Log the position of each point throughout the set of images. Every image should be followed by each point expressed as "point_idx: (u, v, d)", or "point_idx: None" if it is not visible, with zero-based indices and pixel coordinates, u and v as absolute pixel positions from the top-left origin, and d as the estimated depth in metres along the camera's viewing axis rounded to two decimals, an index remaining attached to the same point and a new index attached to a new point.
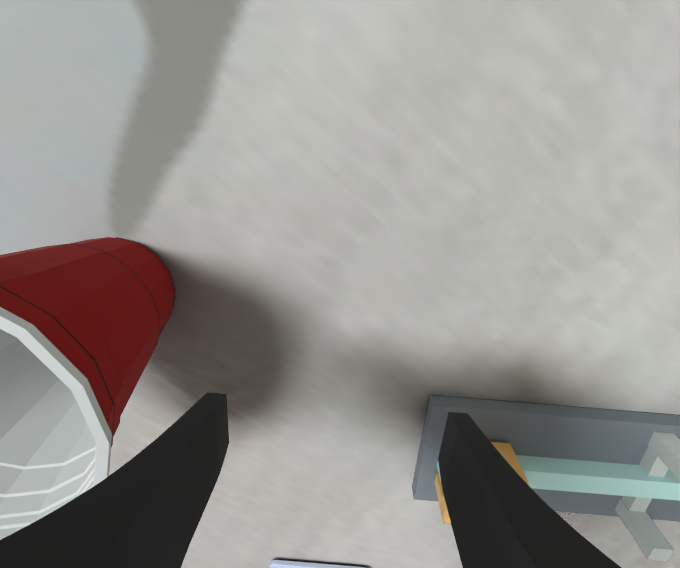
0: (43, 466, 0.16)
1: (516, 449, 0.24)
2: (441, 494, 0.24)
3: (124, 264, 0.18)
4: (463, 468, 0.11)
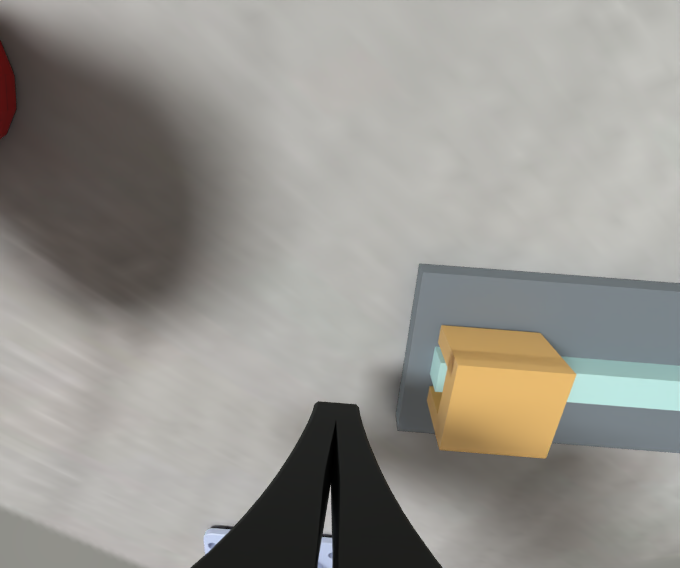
0: None
1: None
2: (436, 410, 0.16)
3: None
4: (335, 458, 0.11)
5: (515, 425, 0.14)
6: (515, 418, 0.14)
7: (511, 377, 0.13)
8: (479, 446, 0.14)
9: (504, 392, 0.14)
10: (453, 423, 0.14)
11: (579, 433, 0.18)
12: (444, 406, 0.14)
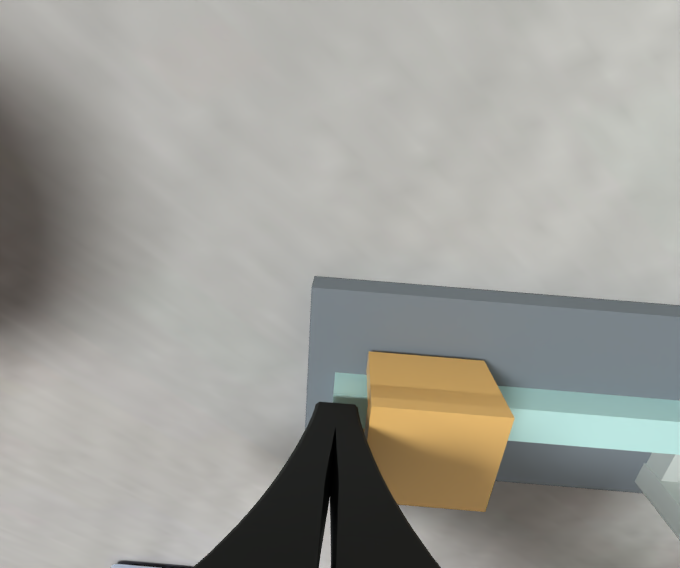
0: None
1: None
2: None
3: None
4: (334, 457, 0.11)
5: (446, 475, 0.12)
6: (445, 467, 0.12)
7: (437, 420, 0.11)
8: (406, 497, 0.12)
9: (430, 437, 0.11)
10: None
11: (509, 469, 0.16)
12: None
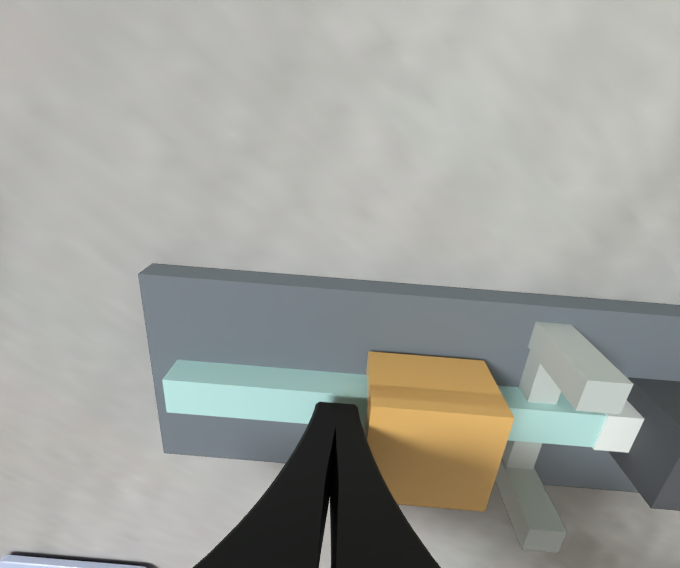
0: None
1: (305, 359, 0.14)
2: None
3: None
4: (334, 458, 0.11)
5: (446, 474, 0.12)
6: (445, 467, 0.12)
7: (437, 420, 0.11)
8: (406, 497, 0.12)
9: (430, 437, 0.11)
10: None
11: None
12: None
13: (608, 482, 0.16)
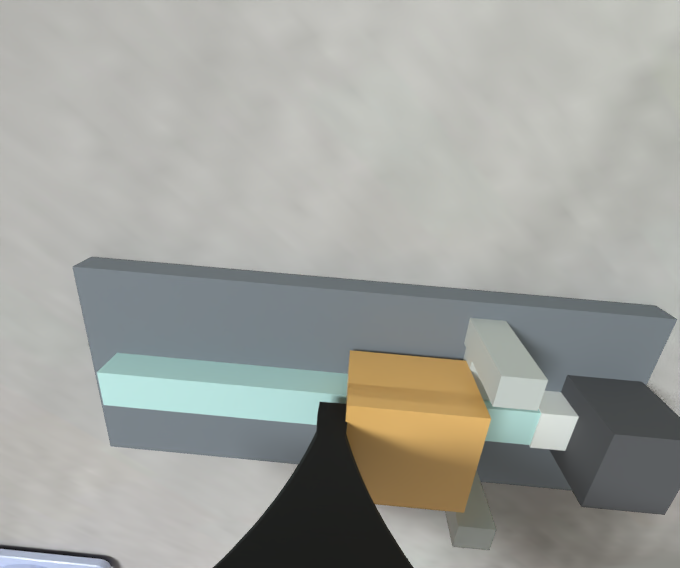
0: None
1: (243, 353, 0.14)
2: None
3: None
4: None
5: (424, 475, 0.12)
6: (423, 467, 0.12)
7: (413, 420, 0.11)
8: (384, 497, 0.12)
9: (406, 437, 0.11)
10: None
11: None
12: None
13: (554, 481, 0.16)
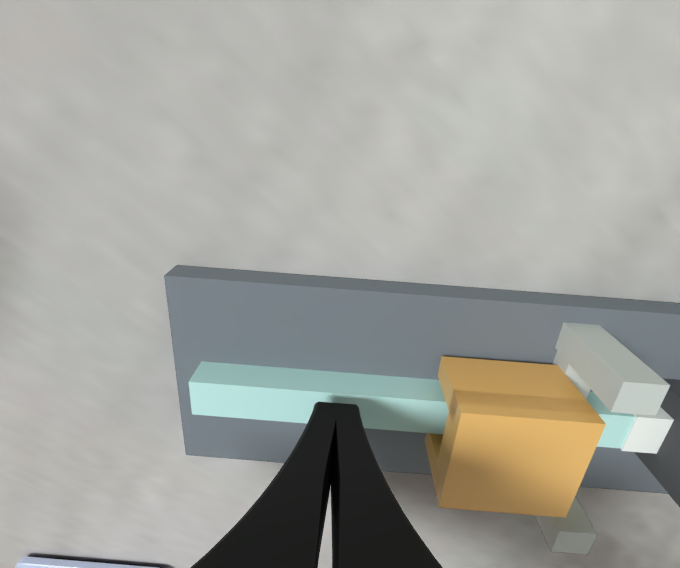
0: None
1: (330, 360, 0.14)
2: (435, 456, 0.13)
3: None
4: (335, 458, 0.11)
5: (530, 481, 0.12)
6: (530, 473, 0.12)
7: (526, 427, 0.11)
8: (487, 503, 0.12)
9: (517, 444, 0.11)
10: (455, 478, 0.12)
11: (389, 459, 0.16)
12: (445, 457, 0.12)
13: (632, 483, 0.16)
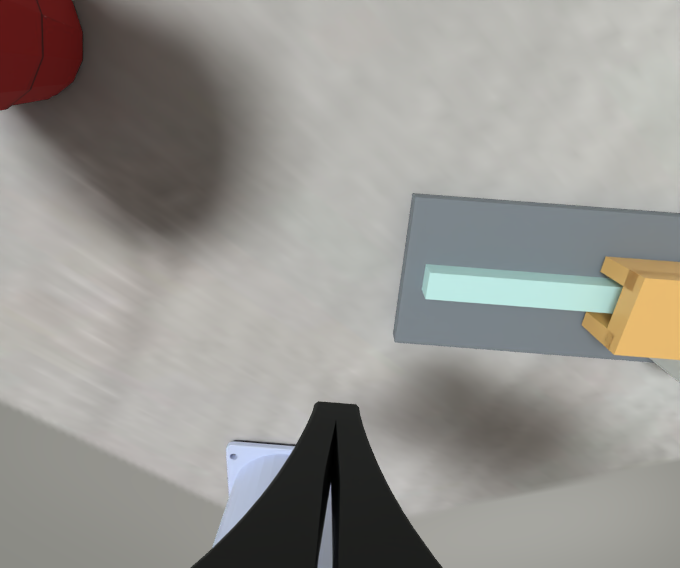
0: None
1: (520, 262, 0.19)
2: (603, 326, 0.19)
3: None
4: (335, 458, 0.11)
5: None
6: None
7: None
8: (648, 351, 0.18)
9: (678, 302, 0.17)
10: (631, 330, 0.17)
11: (548, 343, 0.21)
12: (620, 318, 0.18)
13: None
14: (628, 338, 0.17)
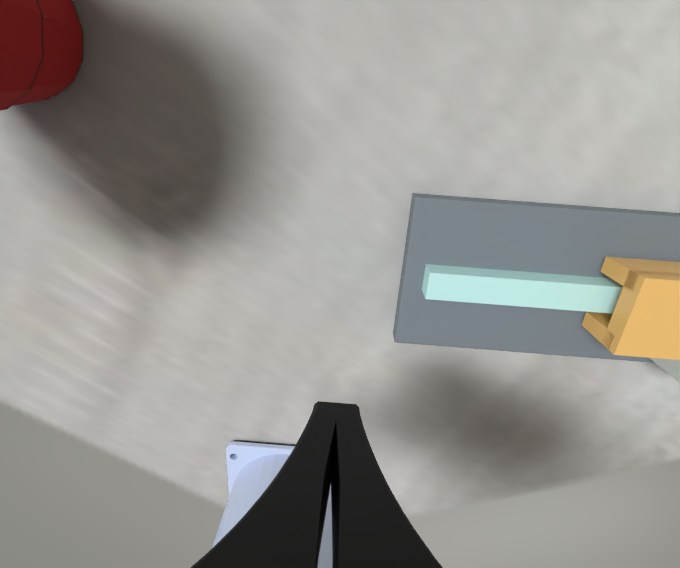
0: None
1: (520, 262, 0.19)
2: (603, 326, 0.19)
3: None
4: (335, 458, 0.11)
5: None
6: None
7: None
8: (648, 351, 0.18)
9: (678, 302, 0.17)
10: (631, 330, 0.17)
11: (548, 343, 0.21)
12: (620, 318, 0.18)
13: None
14: (628, 338, 0.17)
